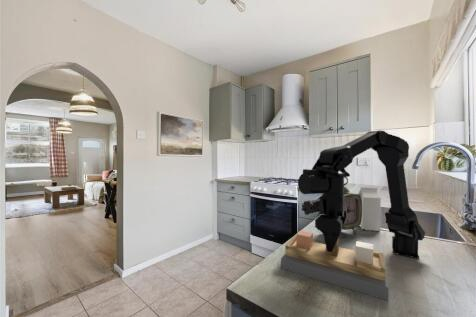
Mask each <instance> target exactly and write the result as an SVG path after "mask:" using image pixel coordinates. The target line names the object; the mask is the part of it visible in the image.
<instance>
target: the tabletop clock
mask: <svg viewBox="0 0 476 317" xmlns="http://www.w3.org/2000/svg"><path fill="white" fill-rule="evenodd" d="M344 179H346V182H344V195H345V199H344V207H345V208H346V209H347V216H346V220H345V222H344V224H343V227H342V230H344V231H348V230H352V233H353V234H355V235H356V234H358V231H357V230H356V228H358V227H359V225H360V224H361V219H362V199H361V196H360V195H358V193H352V192H350V191H349V190H350V189H349V188H348V187H346V185H347V184H348V183H349V179H348V177H344ZM322 215H325V214H322ZM343 217H344V215H343ZM340 238H341V234H340V235H339V239H340Z"/></svg>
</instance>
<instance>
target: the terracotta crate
mask: <svg viewBox="0 0 476 317" xmlns="http://www.w3.org/2000/svg"><path fill="white" fill-rule="evenodd" d="M296 235H297V242H296V247H299V248H303V249H307V250H310V249H311V248H312V246H313V242H314V233H313V232H311V231H310V232H309V231H304V230H299V231H298V232H296Z"/></svg>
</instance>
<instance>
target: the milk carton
mask: <svg viewBox="0 0 476 317" xmlns="http://www.w3.org/2000/svg"><path fill="white" fill-rule="evenodd" d="M379 192H380V191H379V190H378V187H363V186H361V187H360V190H359V192H358V193H357V194H358V195H360V196H361V199H362V219H361V224H360V225H361V226H360V227H361V228H360V227H359V228H360V229H361V230H363V229H365V230H364V231H372V230H373V232H374V231H375V232H380V231H381V214H382V213H381V212H382V211H381V210H382V208H381V205H382V204H381V203H382V201H381V200H382V199H381V195H380V193H379Z"/></svg>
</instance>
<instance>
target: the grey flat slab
mask: <svg viewBox="0 0 476 317" xmlns="http://www.w3.org/2000/svg"><path fill="white" fill-rule="evenodd" d="M280 269H282V270H285V271H289V272H292V273H296V274H297V275H298V274H299V275H301V276H305V277H308V278H312V279H315V280H319V281H322V282H324V283H325V282H326V283H328V284H332V285H336V286H339V287H342V288H345V289H349V290H352V291H355V292H359V293H362V294H366V295H369V296H372V297H376V298H379V299H383V300H386V301H389V282H388V275H387V273H386V277H385V281H383V280H379V279H376V278H372V277H368V276H364V275H360V274H356V273H352V272H349V271H345V270H341V269H337V268H333V267H329V266H325V265H322V264H318V263H314V262H310V261H306V260H302V259H298V258H295V257H291V256H287V255H286V252H284V254H283V255H282V256H281V258H280Z"/></svg>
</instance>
